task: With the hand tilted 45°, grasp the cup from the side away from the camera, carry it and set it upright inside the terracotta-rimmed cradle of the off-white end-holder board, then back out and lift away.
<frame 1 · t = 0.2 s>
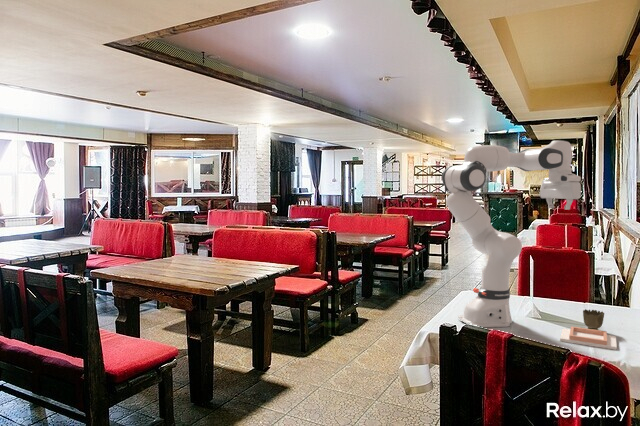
hand: (558, 209, 202), 48 cm above the table, tool pointing down, fingers open, 8 cm apart
cup: (592, 331, 184), on the table
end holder: (588, 339, 174), on the table
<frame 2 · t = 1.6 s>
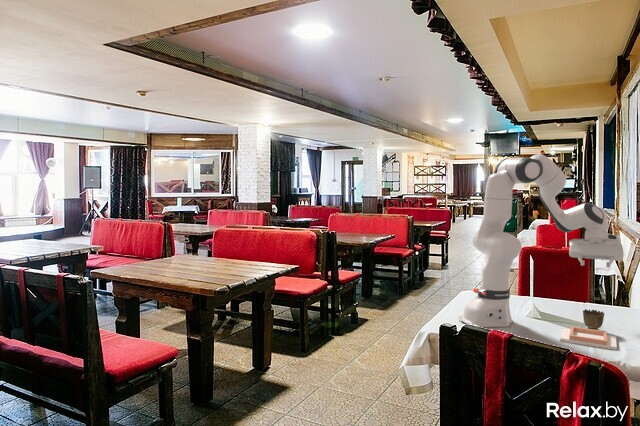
hand: (595, 265, 195), 24 cm above the table, tool tilted 45°, fingers open, 8 cm apart
nothing on the table moved.
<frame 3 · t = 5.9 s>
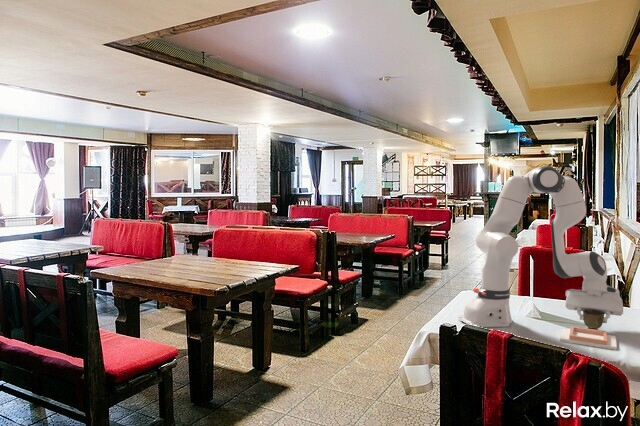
hand: (593, 320, 183), 4 cm above the table, tool tilted 45°, fingers closed on cup, 6 cm apart
cup: (592, 331, 184), on the table, touching gripper
when the fingers open (7 cm above the table, at t = 11.6 s): cup drops 1 cm, resting on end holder.
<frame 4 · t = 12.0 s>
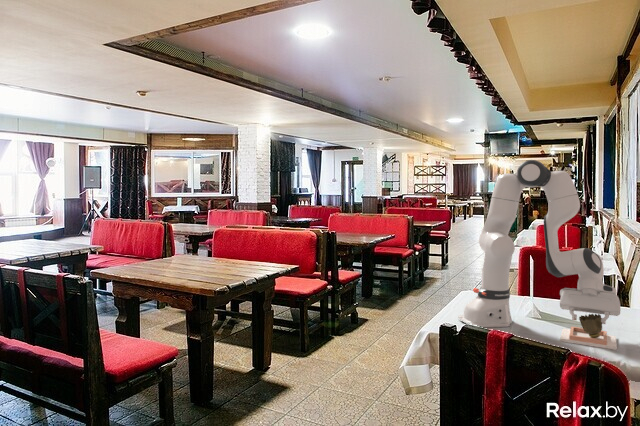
hand: (588, 321, 173), 7 cm above the table, tool tilted 45°, fingers open, 8 cm apart
cup: (595, 337, 173), point 1 cm above the table, touching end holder, gripper
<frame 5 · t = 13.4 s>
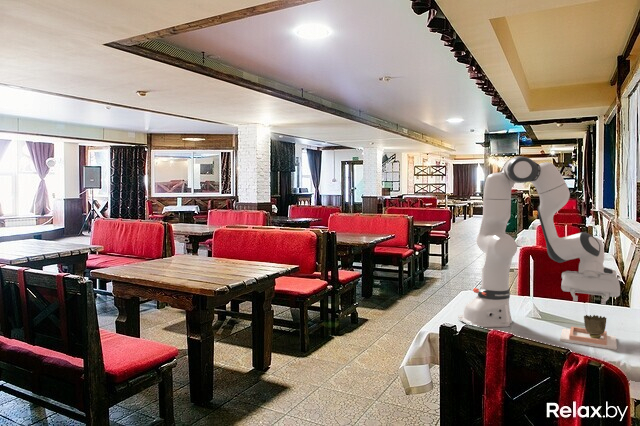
hand: (589, 302, 179), 13 cm above the table, tool tilted 45°, fingers open, 8 cm apart
cup: (595, 338, 173), point 1 cm above the table, touching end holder
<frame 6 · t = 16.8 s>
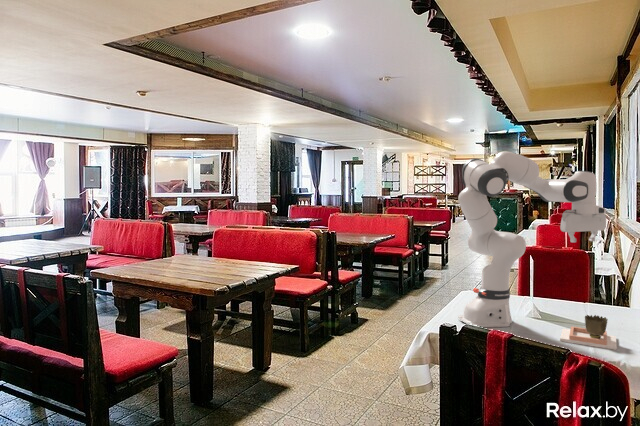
hand: (582, 241, 195), 34 cm above the table, tool pointing down, fingers open, 8 cm apart
nothing on the table moved.
at the end: cup 2.3 cm off-centre on the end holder, point 0.8 cm above the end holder's base; cup tilted 1°; the gripper is holding nothing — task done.
